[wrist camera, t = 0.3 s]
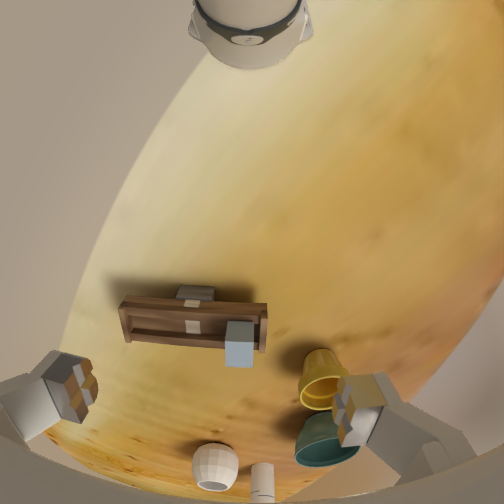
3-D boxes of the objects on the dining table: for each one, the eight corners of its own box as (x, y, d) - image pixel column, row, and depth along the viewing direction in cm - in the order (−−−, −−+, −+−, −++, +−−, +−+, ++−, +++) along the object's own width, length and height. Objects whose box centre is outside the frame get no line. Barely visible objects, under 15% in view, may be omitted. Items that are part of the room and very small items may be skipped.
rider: (228, 315, 46) (224, 341, 40) (254, 316, 46) (253, 342, 40) (229, 339, 48) (225, 366, 42) (253, 340, 48) (252, 367, 42)
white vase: (187, 448, 74) (180, 484, 61) (208, 433, 69) (202, 473, 57) (224, 462, 76) (221, 496, 64) (248, 447, 72) (247, 486, 60)
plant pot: (299, 381, 60) (304, 415, 51) (290, 348, 57) (294, 383, 48) (345, 370, 59) (355, 403, 50) (340, 336, 56) (352, 369, 47)
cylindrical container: (274, 470, 78) (276, 533, 55) (253, 471, 79) (252, 534, 56) (272, 461, 76) (274, 529, 53) (249, 463, 76) (248, 530, 53)
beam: (134, 282, 52) (117, 306, 44) (266, 288, 52) (267, 316, 44) (140, 318, 55) (126, 344, 47) (263, 325, 55) (264, 355, 47)
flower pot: (335, 437, 70) (341, 468, 60) (282, 434, 69) (284, 466, 59) (363, 404, 64) (373, 437, 54) (305, 399, 63) (311, 436, 53)
